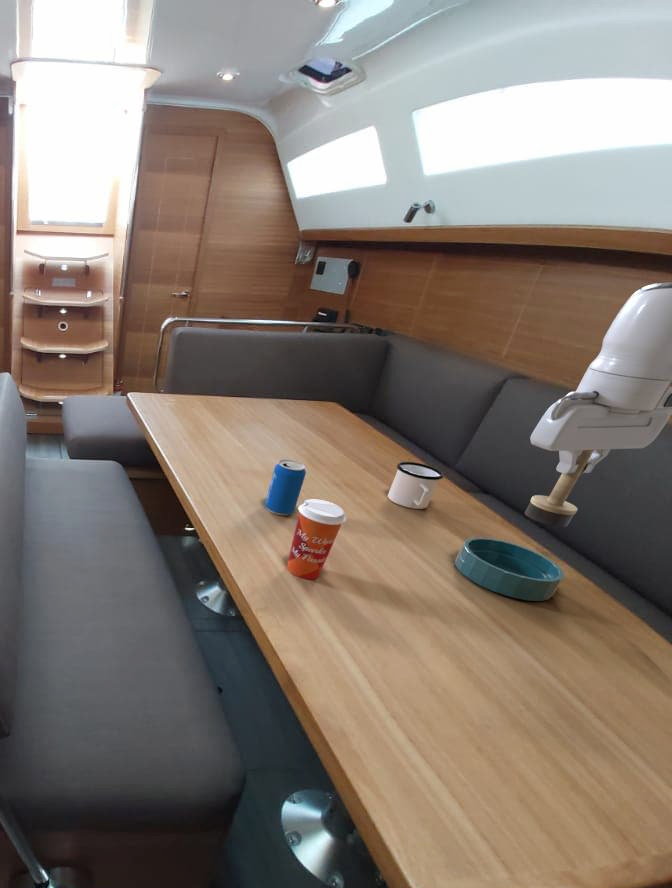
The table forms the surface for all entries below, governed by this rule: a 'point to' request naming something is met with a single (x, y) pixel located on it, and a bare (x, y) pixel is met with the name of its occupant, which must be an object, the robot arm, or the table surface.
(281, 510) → the beverage can
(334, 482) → the table surface
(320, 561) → the paper cup
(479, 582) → the bowl
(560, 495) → the wooden peg on disc
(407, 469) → the mug
